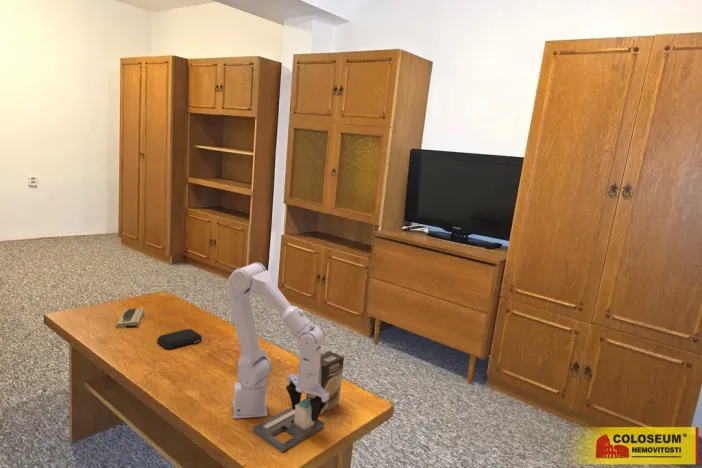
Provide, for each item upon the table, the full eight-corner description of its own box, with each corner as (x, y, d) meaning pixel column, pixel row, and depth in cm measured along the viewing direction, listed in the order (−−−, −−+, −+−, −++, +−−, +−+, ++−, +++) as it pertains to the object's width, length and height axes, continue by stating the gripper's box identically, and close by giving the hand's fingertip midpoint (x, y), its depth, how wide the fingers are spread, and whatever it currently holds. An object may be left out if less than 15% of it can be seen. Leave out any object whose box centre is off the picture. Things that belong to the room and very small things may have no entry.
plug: (303, 433, 130) (305, 407, 128) (293, 427, 132) (295, 401, 130) (313, 427, 133) (315, 402, 131) (303, 421, 135) (305, 396, 134)
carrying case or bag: (168, 353, 168) (205, 343, 179) (168, 345, 168) (205, 335, 179) (155, 342, 175) (191, 333, 186) (155, 335, 175) (191, 326, 186)
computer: (123, 314, 199) (123, 307, 198) (144, 314, 201) (144, 307, 200) (116, 329, 184) (116, 321, 183) (138, 329, 186) (138, 321, 185)
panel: (282, 452, 121) (282, 446, 120) (252, 431, 128) (253, 426, 128) (323, 427, 133) (324, 422, 133) (294, 409, 140) (295, 404, 140)
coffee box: (319, 415, 139) (324, 366, 136) (304, 406, 143) (308, 358, 140) (339, 404, 146) (344, 357, 143) (324, 396, 150) (329, 349, 147)
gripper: (280, 364, 130) (277, 408, 133) (318, 384, 122) (313, 431, 124) (298, 357, 136) (295, 399, 138) (335, 376, 127) (331, 420, 130)
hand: (305, 414), depth 132 cm, fingers open, 7 cm apart
